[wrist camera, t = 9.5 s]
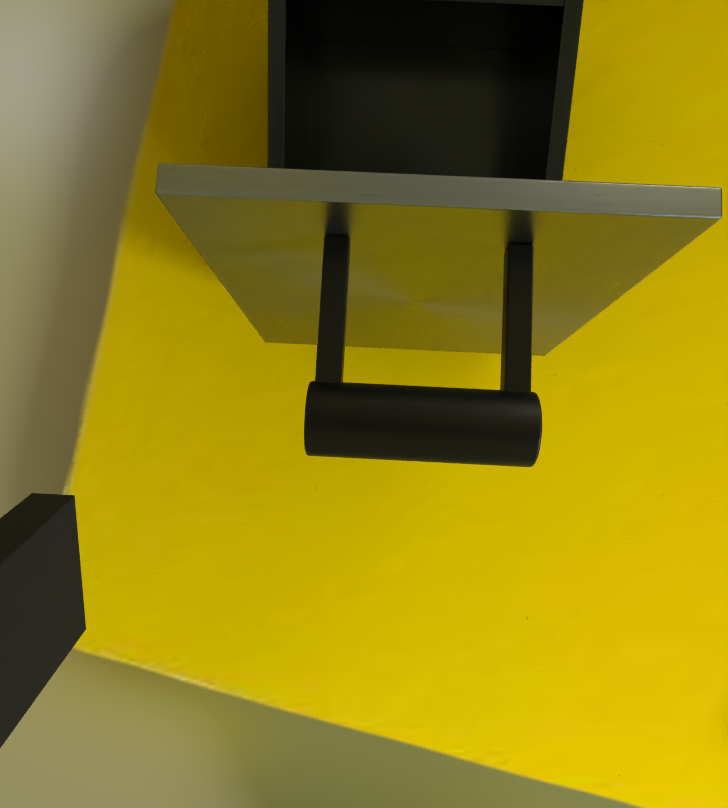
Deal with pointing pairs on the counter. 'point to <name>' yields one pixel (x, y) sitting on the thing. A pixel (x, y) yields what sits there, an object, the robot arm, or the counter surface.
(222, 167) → the lid
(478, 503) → the counter surface
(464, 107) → the black hollow box
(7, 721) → the robot arm
